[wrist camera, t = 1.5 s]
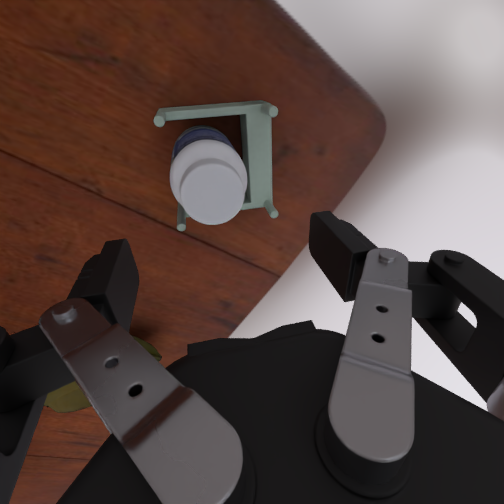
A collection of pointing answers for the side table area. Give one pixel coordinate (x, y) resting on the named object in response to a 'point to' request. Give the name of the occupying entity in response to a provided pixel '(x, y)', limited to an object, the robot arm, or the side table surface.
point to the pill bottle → (207, 175)
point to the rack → (253, 146)
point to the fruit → (73, 397)
